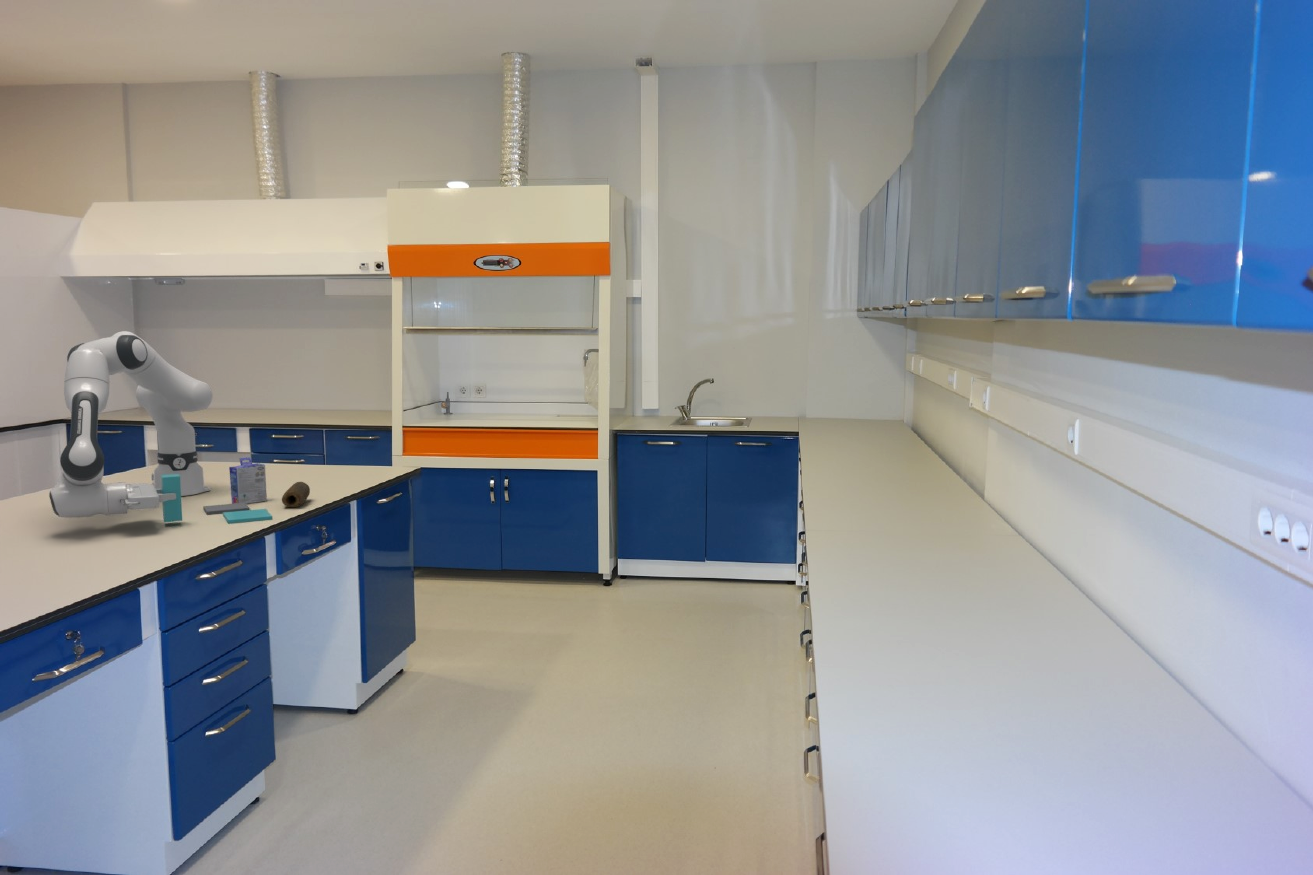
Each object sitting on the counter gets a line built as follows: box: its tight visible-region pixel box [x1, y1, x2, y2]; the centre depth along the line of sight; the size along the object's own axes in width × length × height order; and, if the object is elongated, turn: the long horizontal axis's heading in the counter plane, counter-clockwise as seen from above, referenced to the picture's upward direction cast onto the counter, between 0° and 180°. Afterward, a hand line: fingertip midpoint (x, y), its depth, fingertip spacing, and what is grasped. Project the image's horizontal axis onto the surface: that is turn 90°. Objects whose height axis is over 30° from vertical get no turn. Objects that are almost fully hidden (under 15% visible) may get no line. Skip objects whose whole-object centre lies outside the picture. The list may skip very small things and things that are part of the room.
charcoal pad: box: [203, 503, 251, 516], centre depth 282 cm, size 9×12×1 cm
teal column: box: [161, 474, 183, 523], centre depth 261 cm, size 4×4×13 cm
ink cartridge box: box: [228, 457, 268, 505], centre depth 294 cm, size 10×6×14 cm, turn 142°
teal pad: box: [222, 508, 273, 525], centre depth 272 cm, size 12×12×1 cm
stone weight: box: [281, 481, 311, 508], centre depth 292 cm, size 15×7×7 cm, turn 14°
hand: (174, 494), depth 261 cm, fingers closed on teal column, 4 cm apart
